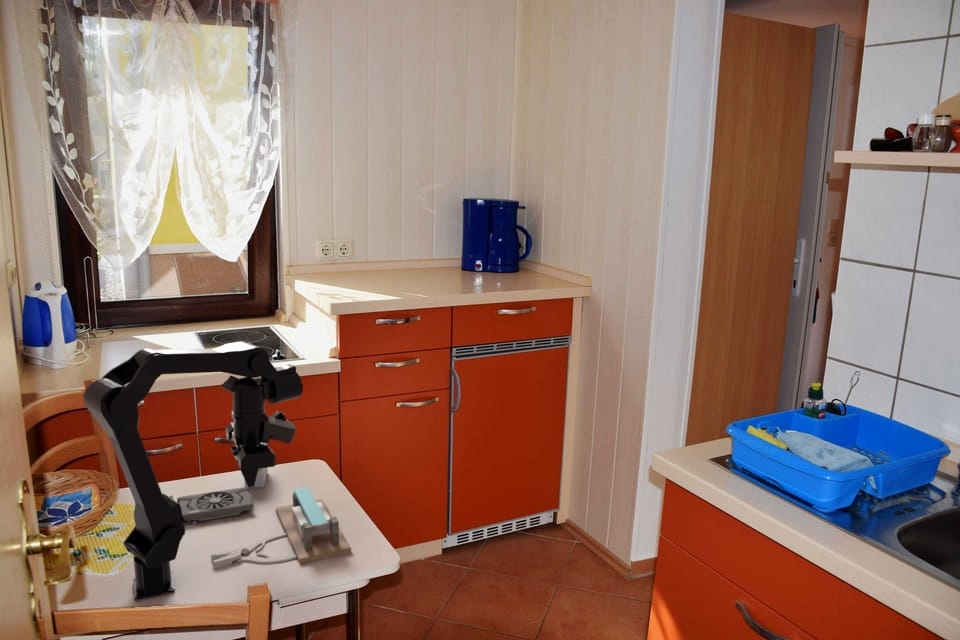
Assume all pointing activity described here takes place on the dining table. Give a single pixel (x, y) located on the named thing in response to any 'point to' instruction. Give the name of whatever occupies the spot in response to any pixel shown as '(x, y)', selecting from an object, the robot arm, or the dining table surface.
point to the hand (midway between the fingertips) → (250, 485)
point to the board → (316, 541)
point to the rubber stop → (295, 501)
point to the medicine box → (259, 477)
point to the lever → (311, 509)
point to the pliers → (227, 558)
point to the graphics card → (215, 504)
